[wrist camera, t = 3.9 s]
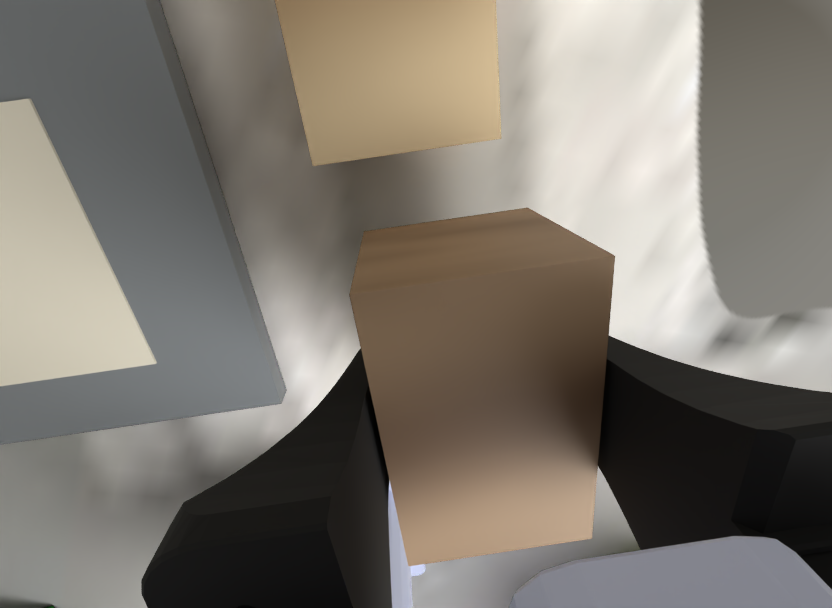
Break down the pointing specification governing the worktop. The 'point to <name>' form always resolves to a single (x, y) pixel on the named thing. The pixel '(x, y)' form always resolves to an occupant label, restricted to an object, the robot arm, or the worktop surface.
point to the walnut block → (486, 378)
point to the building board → (114, 233)
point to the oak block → (392, 74)
